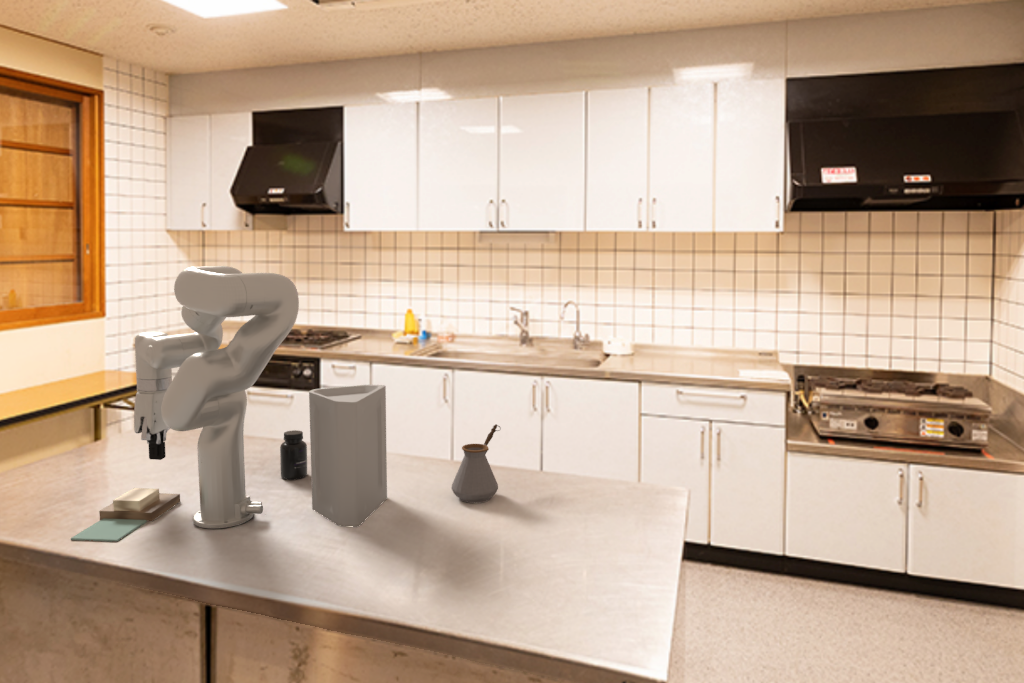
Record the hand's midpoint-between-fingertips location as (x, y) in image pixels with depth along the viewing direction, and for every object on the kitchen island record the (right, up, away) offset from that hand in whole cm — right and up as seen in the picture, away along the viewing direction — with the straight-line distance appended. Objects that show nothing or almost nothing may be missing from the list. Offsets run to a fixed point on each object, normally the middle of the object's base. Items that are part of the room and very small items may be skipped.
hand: (157, 458), depth 171 cm
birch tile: (0, -9, -9) cm, 13 cm away
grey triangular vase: (+46, -11, -5) cm, 48 cm away
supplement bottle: (+28, -8, +18) cm, 34 cm away
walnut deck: (0, -11, -8) cm, 13 cm away
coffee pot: (+78, -10, +8) cm, 79 cm away
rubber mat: (-1, -12, -19) cm, 23 cm away
